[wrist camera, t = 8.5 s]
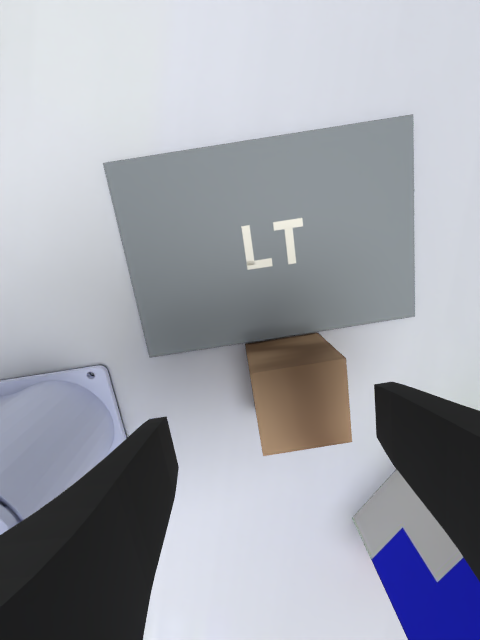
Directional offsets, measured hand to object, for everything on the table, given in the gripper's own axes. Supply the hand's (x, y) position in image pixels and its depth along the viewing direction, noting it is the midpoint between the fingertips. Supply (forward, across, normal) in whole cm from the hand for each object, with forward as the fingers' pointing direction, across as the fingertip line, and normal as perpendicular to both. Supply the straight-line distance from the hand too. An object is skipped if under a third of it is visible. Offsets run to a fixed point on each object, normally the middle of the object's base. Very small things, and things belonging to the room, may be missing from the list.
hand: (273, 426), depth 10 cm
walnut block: (+10, -2, +3) cm, 11 cm away
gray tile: (+10, -2, -6) cm, 12 cm away
